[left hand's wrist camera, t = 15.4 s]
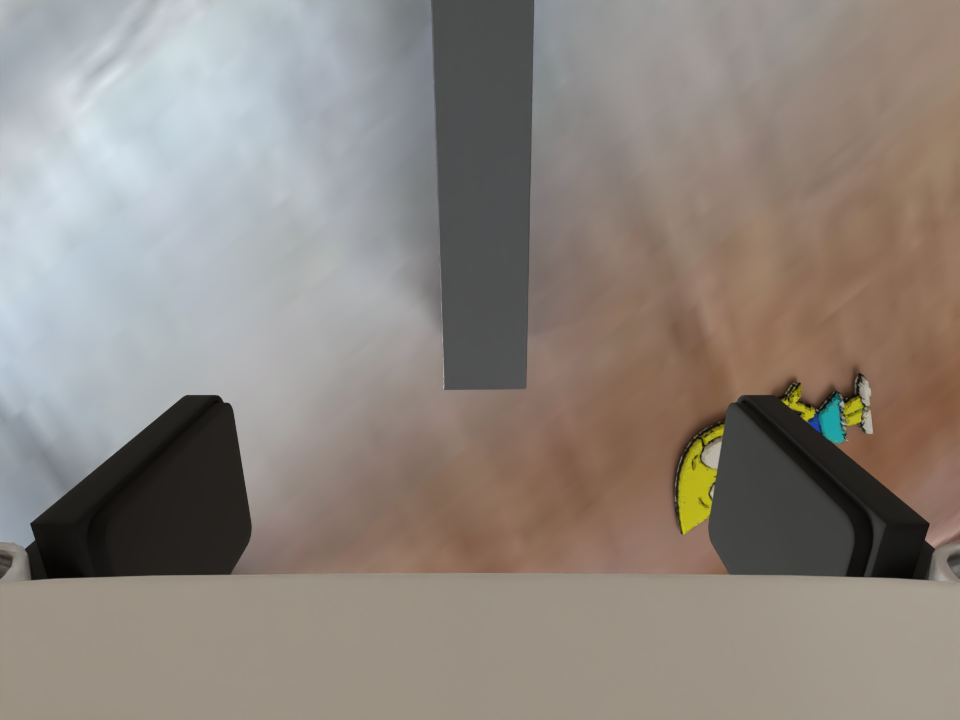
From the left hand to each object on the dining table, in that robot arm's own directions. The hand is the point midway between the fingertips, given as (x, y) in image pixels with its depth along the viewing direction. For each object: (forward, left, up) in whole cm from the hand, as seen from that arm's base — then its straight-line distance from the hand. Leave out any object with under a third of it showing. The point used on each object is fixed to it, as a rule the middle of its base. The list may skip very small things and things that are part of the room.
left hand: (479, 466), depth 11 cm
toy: (-11, +24, -29) cm, 39 cm away
